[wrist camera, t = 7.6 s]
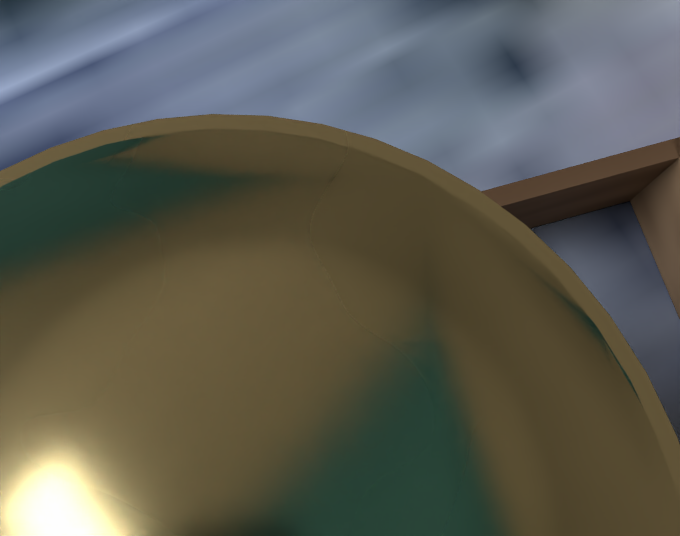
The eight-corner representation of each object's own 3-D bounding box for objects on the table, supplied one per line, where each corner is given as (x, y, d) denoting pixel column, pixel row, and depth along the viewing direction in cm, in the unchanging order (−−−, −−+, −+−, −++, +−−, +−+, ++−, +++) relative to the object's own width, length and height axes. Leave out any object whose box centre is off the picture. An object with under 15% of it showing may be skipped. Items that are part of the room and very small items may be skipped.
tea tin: (467, 545, 15) (934, 1069, 3) (253, 608, 15) (-326, 1479, 2) (402, 333, 17) (507, 20, 4) (206, 389, 16) (-315, 244, 4)
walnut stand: (800, 554, 16) (897, 582, 13) (421, 665, 15) (433, 719, 13) (639, 181, 18) (690, 134, 15) (315, 270, 18) (304, 239, 15)
